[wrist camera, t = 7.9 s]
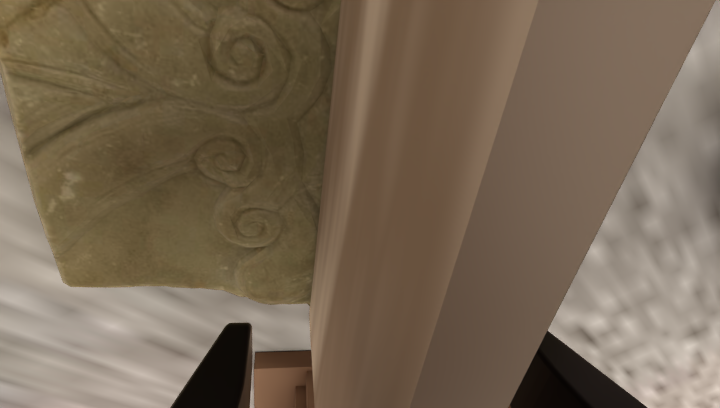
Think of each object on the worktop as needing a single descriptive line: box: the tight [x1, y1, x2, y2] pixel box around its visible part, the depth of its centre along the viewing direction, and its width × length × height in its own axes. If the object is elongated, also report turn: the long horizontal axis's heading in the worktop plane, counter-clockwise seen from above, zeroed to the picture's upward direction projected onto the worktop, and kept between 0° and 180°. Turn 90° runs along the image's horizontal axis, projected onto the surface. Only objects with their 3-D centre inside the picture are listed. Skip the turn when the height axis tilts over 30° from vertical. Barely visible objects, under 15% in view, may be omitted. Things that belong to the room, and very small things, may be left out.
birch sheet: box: [309, 0, 715, 408], centre depth 10 cm, size 1×14×10 cm, turn 173°
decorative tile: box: [0, 0, 341, 306], centre depth 15 cm, size 19×20×4 cm
